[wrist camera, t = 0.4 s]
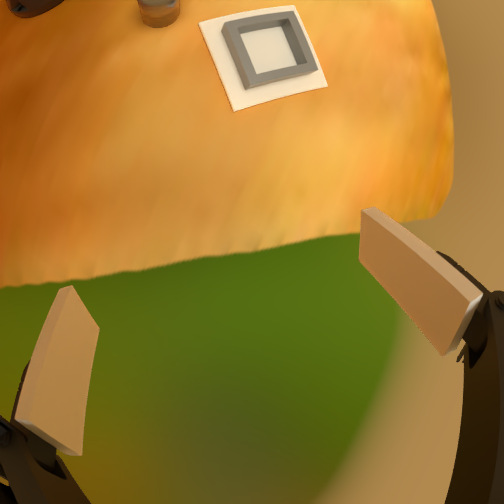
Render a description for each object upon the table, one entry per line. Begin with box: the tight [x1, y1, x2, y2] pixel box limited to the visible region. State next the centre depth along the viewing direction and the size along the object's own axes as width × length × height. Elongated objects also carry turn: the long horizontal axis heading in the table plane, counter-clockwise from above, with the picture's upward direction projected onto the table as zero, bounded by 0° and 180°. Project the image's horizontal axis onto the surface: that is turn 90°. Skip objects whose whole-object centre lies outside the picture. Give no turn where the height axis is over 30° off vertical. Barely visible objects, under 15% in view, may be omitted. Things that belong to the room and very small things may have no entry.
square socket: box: [198, 5, 328, 112], centre depth 28 cm, size 14×14×4 cm
